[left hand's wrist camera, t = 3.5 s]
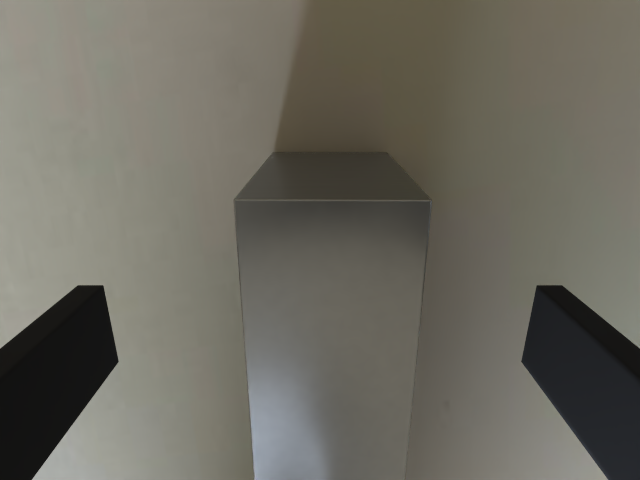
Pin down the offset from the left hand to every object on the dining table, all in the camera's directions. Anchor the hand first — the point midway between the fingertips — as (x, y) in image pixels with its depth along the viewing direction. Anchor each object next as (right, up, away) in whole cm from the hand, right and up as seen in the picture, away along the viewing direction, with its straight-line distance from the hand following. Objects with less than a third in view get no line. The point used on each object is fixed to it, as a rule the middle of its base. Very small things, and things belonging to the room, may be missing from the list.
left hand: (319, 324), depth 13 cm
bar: (0, -6, +13) cm, 14 cm away
